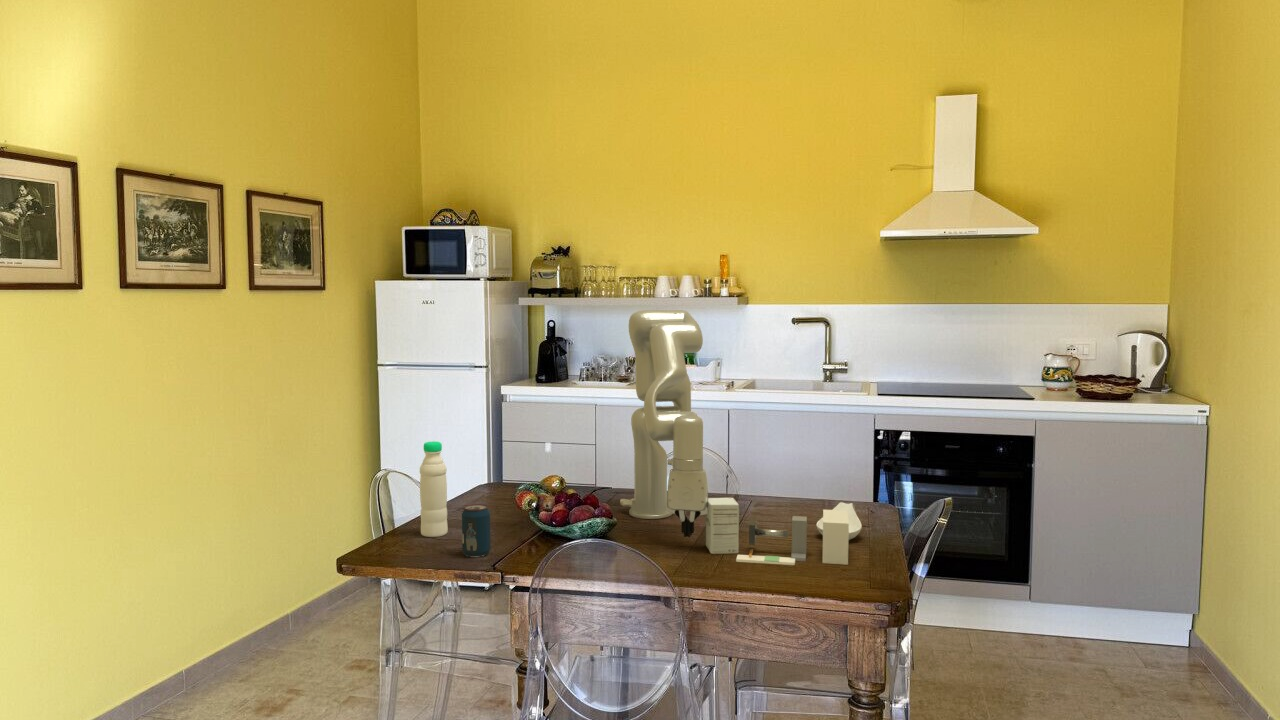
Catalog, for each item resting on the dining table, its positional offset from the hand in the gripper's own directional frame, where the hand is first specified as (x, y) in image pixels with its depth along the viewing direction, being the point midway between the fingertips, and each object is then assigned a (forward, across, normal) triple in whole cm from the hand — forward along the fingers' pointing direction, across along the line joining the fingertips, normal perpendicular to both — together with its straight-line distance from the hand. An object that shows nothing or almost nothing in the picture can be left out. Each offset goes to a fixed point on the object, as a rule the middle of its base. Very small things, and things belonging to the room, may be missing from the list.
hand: (687, 535), depth 232 cm
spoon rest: (+4, +39, +23) cm, 45 cm away
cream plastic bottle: (+3, -69, -1) cm, 69 cm away
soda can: (+3, -51, -16) cm, 53 cm away
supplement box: (+3, +9, 0) cm, 9 cm away
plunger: (+2, +21, -2) cm, 21 cm away
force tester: (+3, +27, -1) cm, 27 cm away
